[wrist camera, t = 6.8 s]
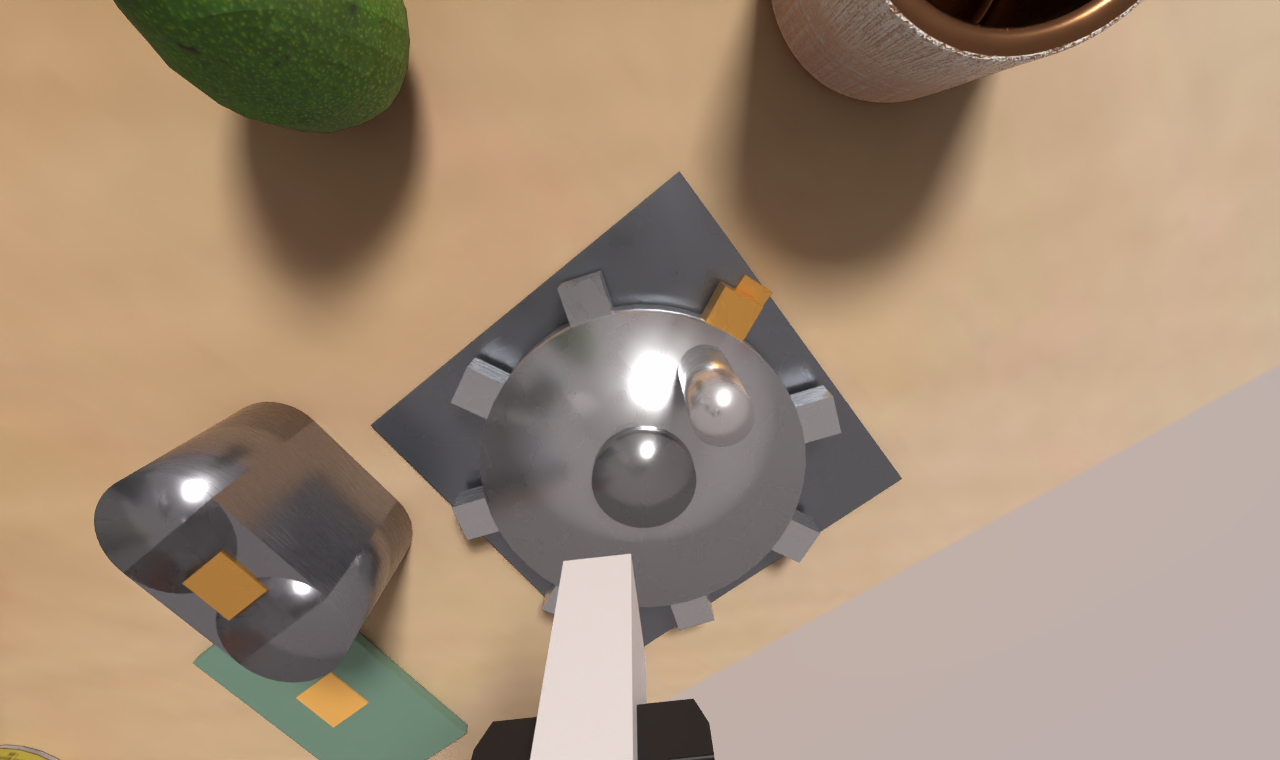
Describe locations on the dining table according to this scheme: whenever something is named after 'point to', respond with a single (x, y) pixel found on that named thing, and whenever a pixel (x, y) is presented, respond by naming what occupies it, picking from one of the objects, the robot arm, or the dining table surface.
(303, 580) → the silver capsule block
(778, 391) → the sprocket
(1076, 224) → the dining table surface
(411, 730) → the green flat board
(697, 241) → the bearing plate
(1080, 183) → the dining table surface
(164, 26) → the fruit
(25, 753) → the canned food
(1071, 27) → the planter
